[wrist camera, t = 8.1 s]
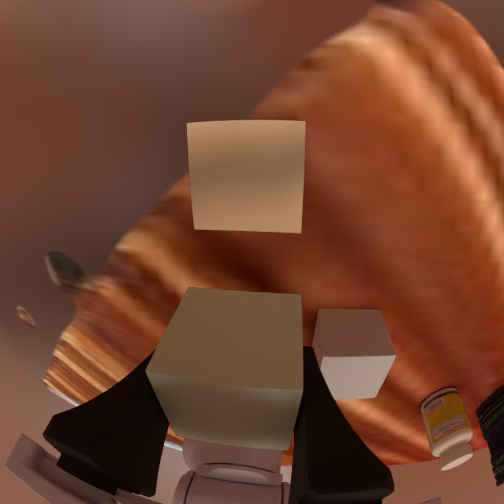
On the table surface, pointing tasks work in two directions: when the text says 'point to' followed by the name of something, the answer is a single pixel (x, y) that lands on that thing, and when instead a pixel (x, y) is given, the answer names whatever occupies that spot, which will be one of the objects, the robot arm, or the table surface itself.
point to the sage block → (232, 367)
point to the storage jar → (494, 430)
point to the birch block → (247, 174)
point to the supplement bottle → (447, 427)
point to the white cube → (353, 351)
